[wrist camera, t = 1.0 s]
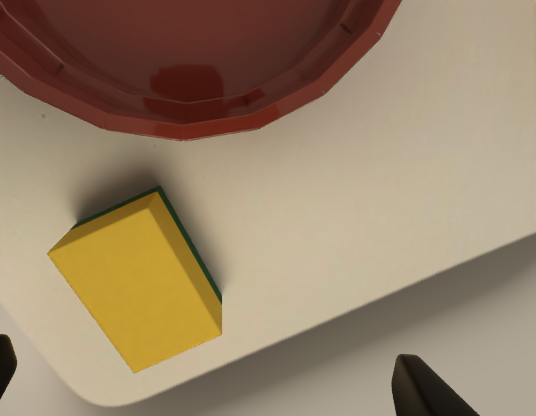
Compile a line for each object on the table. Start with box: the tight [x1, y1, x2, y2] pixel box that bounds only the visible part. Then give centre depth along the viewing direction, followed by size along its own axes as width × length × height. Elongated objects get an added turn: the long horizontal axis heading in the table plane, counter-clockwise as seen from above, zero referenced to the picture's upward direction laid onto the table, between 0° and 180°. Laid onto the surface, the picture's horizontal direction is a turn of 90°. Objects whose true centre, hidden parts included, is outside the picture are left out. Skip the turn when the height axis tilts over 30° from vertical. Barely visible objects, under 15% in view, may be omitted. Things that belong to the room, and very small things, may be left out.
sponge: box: [47, 186, 222, 373], centre depth 18 cm, size 7×5×3 cm, turn 23°
